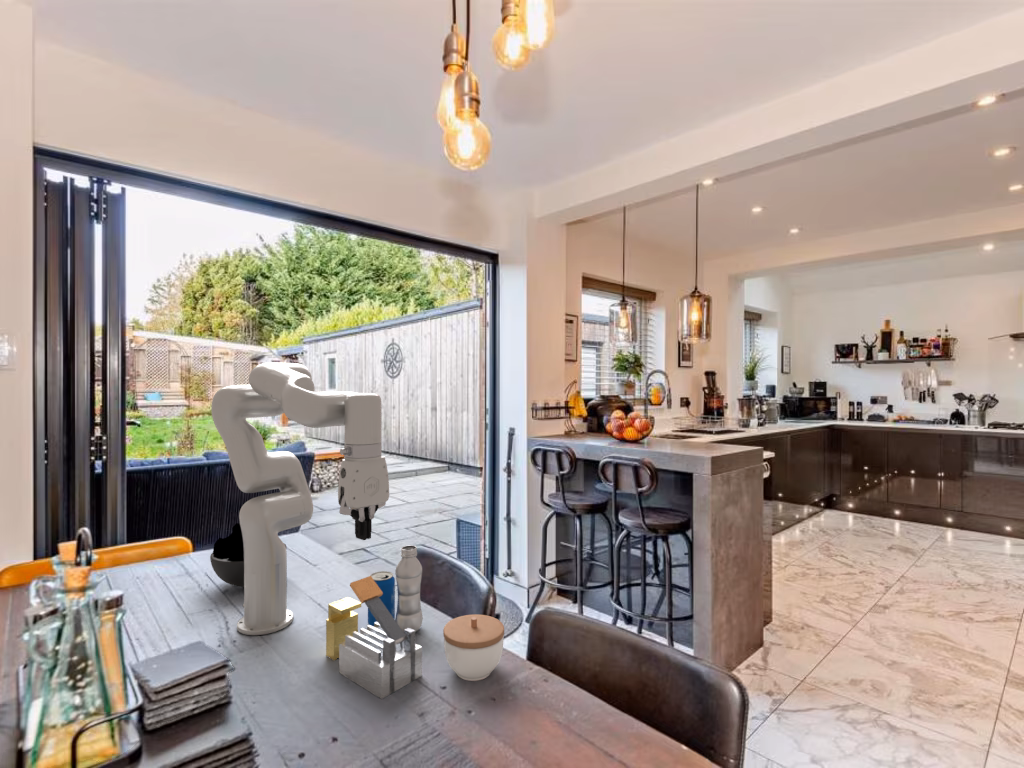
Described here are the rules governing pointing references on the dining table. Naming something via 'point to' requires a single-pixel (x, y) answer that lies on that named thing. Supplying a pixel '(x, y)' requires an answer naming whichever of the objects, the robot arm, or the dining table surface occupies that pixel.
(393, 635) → the strap
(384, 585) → the beverage can
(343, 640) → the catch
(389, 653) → the heatsink
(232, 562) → the bowl of black rocks
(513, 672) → the dining table surface
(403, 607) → the plastic bottle
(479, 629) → the lidded bowl
